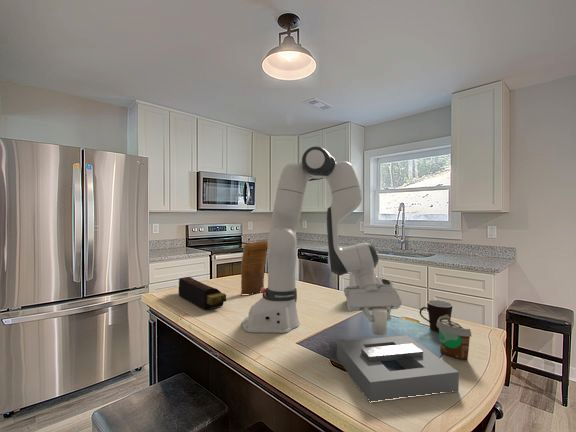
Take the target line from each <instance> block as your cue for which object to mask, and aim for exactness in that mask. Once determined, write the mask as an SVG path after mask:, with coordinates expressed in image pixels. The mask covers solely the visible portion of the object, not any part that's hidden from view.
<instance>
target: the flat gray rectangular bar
mask: <svg viewBox="0 0 576 432" xmlns="http://www.w3.org/2000/svg"><path fill="white" fill-rule="evenodd" d="M361 354H362V355H363V356H364V357H365V358H366V359H367V360H368V361H369V362H378V361H380V362H385V361H396V360H397V359H407V358H417V357H423V351H422V350H420V349H419V348H418V347H416V346H415V345H414V344H401V345H390V346H379V347H368V348H361Z"/></svg>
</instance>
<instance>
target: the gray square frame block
mask: <svg viewBox="0 0 576 432" xmlns="http://www.w3.org/2000/svg"><path fill="white" fill-rule="evenodd" d="M401 344H414V345H415V346H416V347H418V348H419V349H420V350H422V351H423V357H417V358H407V359H397V360H395V361H396V362H397V363H398V364H399V365H400V366H401V367H403V369H399V370H389V369H388V368H387V367H386V366H385V365H384V364H383V362H382V361H378V362H369V361H368V360H367V359H366V358H365V357H364V356H363V355H362V354H361V348H368V347H379V346H390V345H401ZM336 358H337V360H338V361H339V363H340V364H341V365H342V366H343V368H344V369H345V371H346V372H347V374H348V375H349V376H350V378H351V379H352V380H353V382H354V383H355V385H356V386H357V387H358V389H359V388H360V389H359V391H361V393H362V392H363V393H364V394H363V393H362V394H363V395H364V397H365V396H366V397H367V398H368V399H369V401H370V402H371V401H378V400H385V399H393V398H399V397H408V396H416V395H425V394H432V393H440V392H452V391H459V388H460V386H459V384H460V383H459V382H460V379H459V377H460V371H458V370H457V369H455V368H454V367H453V366H451V365H450V364H448V363H447V362H446V361H444V360H442V359H441V358H440V357H438V356H437V355H435V354H434V353H433V352H432V351H430V350H428V349H427V348H426V347H424V346H423V345H421V344H420V343H419V342H417V341H416V340H414V339H413V338H412V337H410V336H409V335H399V336H398V335H397V336H386V337H383V336H382V337H372V338H362V339H359V338H358V339H348V340H339V341H336ZM452 393H453V392H452ZM366 397H365V398H366ZM367 398H366V399H367ZM369 401H368V402H369ZM370 402H369V403H370Z"/></svg>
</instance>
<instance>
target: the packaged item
mask: <svg viewBox="0 0 576 432" xmlns="http://www.w3.org/2000/svg"><path fill="white" fill-rule="evenodd" d="M178 297H180V298H181V299H183V300H185V301H187V302H188V303H191V304H193V305H194V306H196V307H198V308H200V309H202V310H205V311H207V310H211V309H216V308H220V307H223V306H224V302H227V294H225V293H224V292H221V291H220V290H219V289H217V288H215V287H212V286H210V285H207V284H205V283H203V282H201V281H198V280H197V279H194V278H193V277H192V276H191V277H190V276H186V277H181V278H178Z"/></svg>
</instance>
